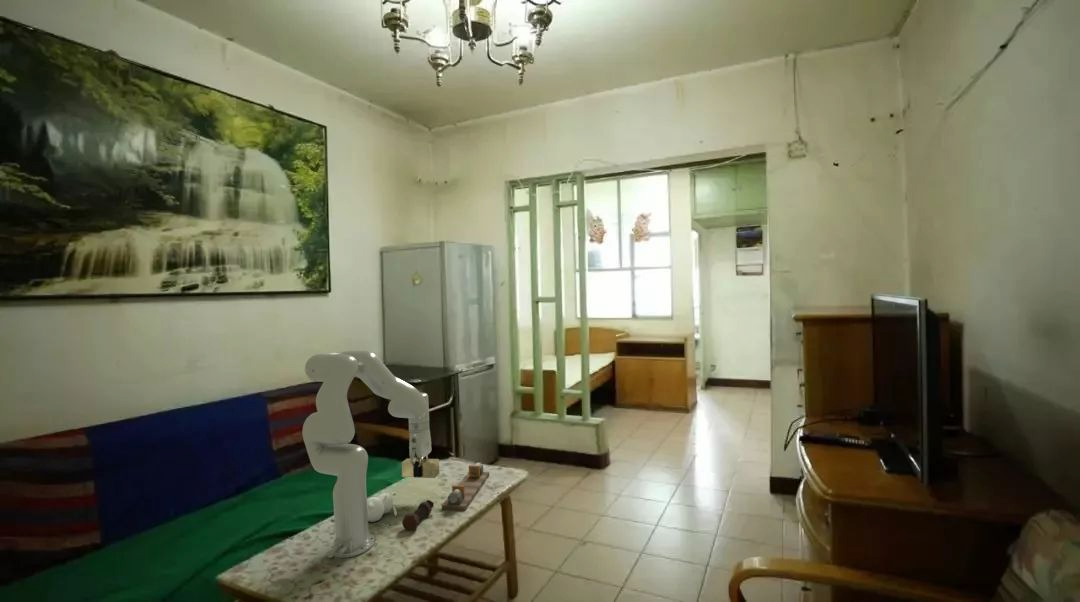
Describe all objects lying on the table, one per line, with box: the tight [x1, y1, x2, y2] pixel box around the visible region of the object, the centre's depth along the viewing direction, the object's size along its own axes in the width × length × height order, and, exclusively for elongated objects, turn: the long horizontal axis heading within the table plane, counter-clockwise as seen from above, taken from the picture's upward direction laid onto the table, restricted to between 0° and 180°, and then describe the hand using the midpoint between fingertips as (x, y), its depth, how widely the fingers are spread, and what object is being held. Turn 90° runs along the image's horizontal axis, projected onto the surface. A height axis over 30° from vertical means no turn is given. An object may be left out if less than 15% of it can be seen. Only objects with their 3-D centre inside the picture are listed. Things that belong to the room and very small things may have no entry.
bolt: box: [401, 499, 435, 532], centre depth 154 cm, size 6×5×15 cm
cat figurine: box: [367, 491, 398, 523], centre depth 156 cm, size 9×11×12 cm
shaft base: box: [441, 462, 490, 511], centre depth 175 cm, size 30×9×6 cm, turn 171°
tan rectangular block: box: [401, 458, 440, 479], centre depth 170 cm, size 4×13×6 cm, turn 80°
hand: (420, 473), depth 170 cm, fingers closed on tan rectangular block, 4 cm apart
